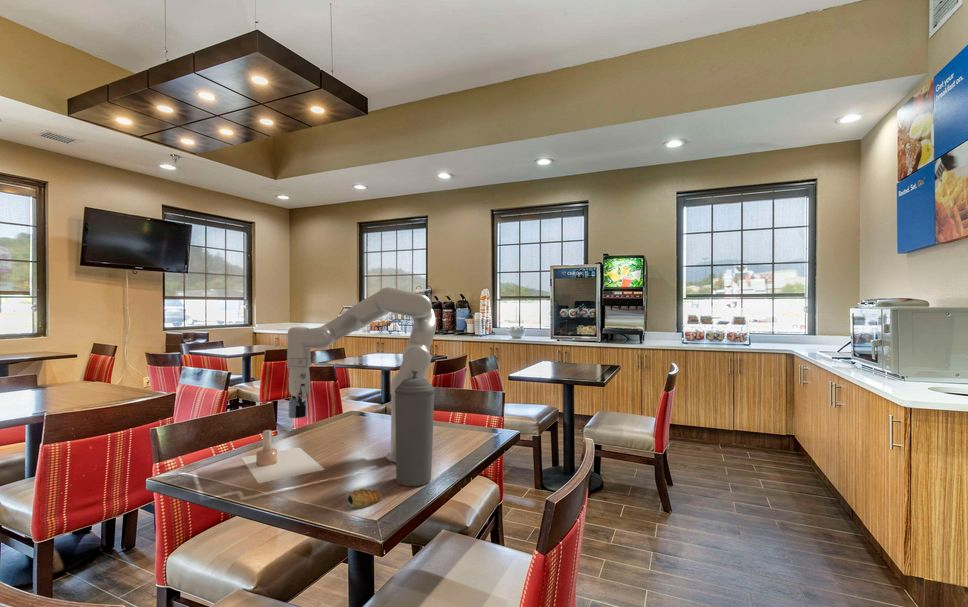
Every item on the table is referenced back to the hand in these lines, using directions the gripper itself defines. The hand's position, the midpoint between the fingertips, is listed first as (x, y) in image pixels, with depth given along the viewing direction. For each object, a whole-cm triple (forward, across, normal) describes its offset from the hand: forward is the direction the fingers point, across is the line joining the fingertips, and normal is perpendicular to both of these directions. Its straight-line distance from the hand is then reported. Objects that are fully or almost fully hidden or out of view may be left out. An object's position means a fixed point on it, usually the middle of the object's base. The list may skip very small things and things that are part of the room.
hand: (297, 414), depth 153 cm
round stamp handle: (+16, +6, +8) cm, 19 cm away
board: (+17, +3, +4) cm, 18 cm away
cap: (0, 0, 0) cm, 0 cm away
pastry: (+18, -42, -6) cm, 46 cm away
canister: (+18, -36, -26) cm, 48 cm away
